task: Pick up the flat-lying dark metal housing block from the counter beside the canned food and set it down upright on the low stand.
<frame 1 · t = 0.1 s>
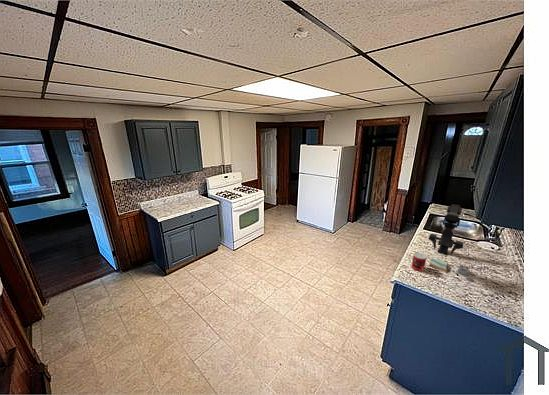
hand: (442, 251, 153), 15 cm above the worktop, fingers open, 9 cm apart
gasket: (469, 280, 147), on the worktop
stand: (438, 265, 161), on the worktop
housing: (462, 272, 154), on the worktop
canned food: (417, 268, 159), on the worktop
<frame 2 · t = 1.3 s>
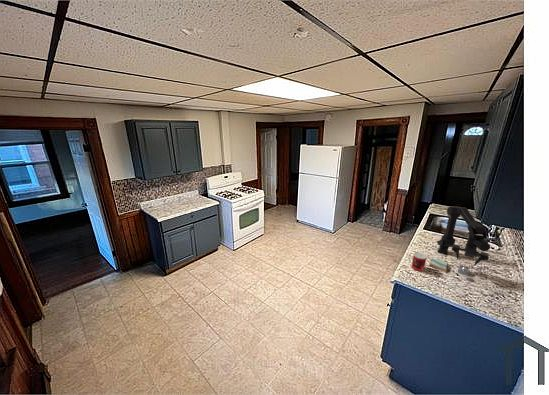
hand: (466, 262, 152), 8 cm above the worktop, fingers open, 9 cm apart
nothing on the worktop moved.
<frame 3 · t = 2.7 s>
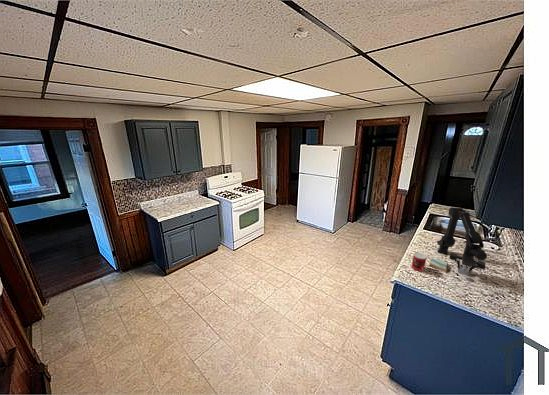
hand: (463, 270, 154), 1 cm above the worktop, fingers closed on housing, 5 cm apart
housing: (463, 272, 154), on the worktop, touching gripper
everything else where it was.
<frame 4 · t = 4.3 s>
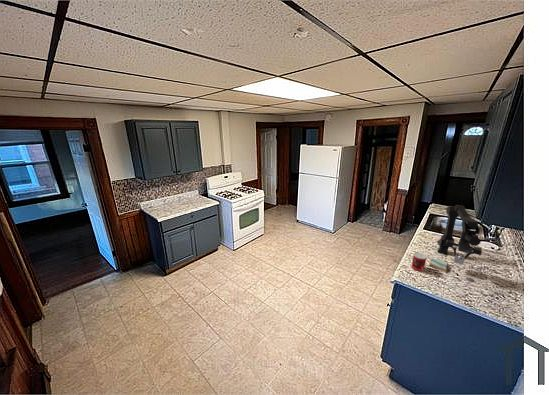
hand: (459, 257, 153), 11 cm above the worktop, fingers closed on housing, 5 cm apart
housing: (458, 261, 154), point 8 cm above the worktop, touching gripper
everything else where it was.
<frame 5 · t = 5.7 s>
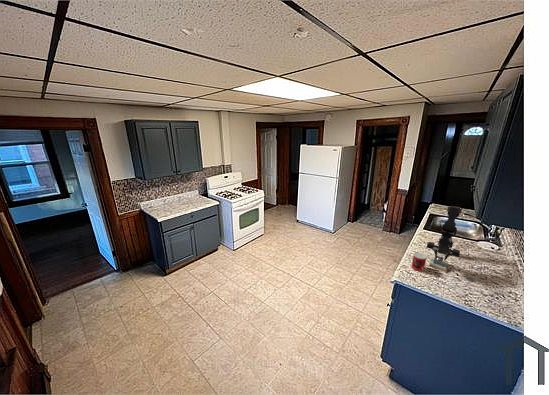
hand: (440, 259, 159), 6 cm above the worktop, fingers open, 5 cm apart
housing: (437, 262, 161), point 2 cm above the worktop, touching gripper, stand
everything else where it was.
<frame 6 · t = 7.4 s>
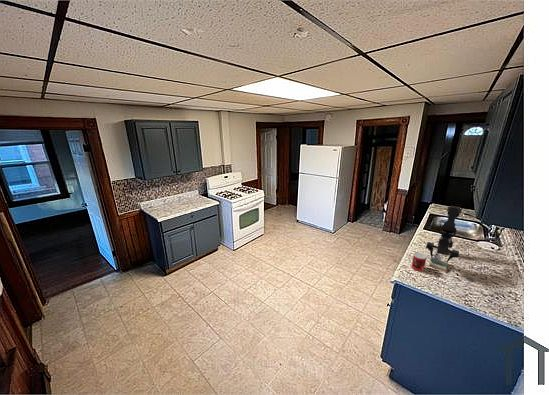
hand: (439, 259, 160), 5 cm above the worktop, fingers open, 9 cm apart
housing: (437, 260, 161), point 4 cm above the worktop, tilted 40°, touching gripper, stand
everything else where it was.
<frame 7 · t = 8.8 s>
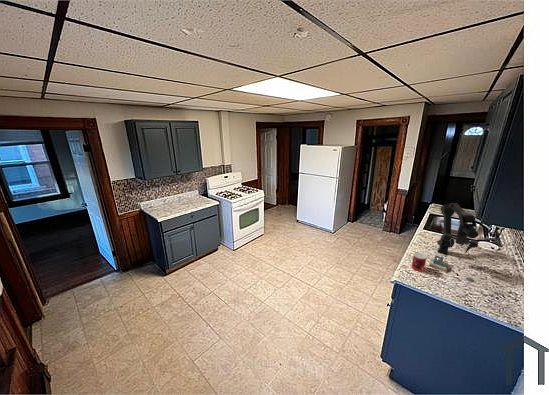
hand: (457, 250, 159), 12 cm above the worktop, fingers open, 9 cm apart
housing: (437, 262, 161), point 2 cm above the worktop, touching stand
everything else where it was.
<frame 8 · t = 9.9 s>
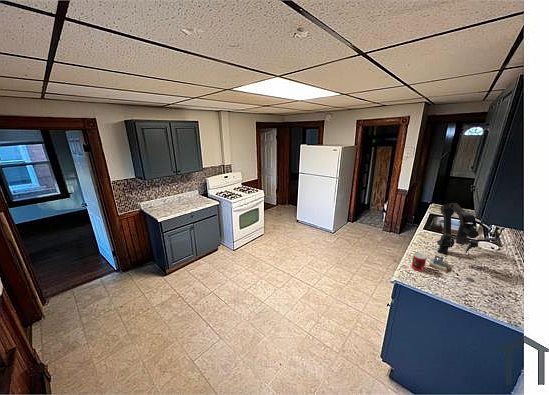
hand: (457, 250, 159), 12 cm above the worktop, fingers open, 9 cm apart
nothing on the worktop moved.
at the end: housing inside the target area on the stand (0.8 cm from its centre), point 2.5 cm above the stand's base; housing tilted 0°; the gripper is holding nothing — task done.
